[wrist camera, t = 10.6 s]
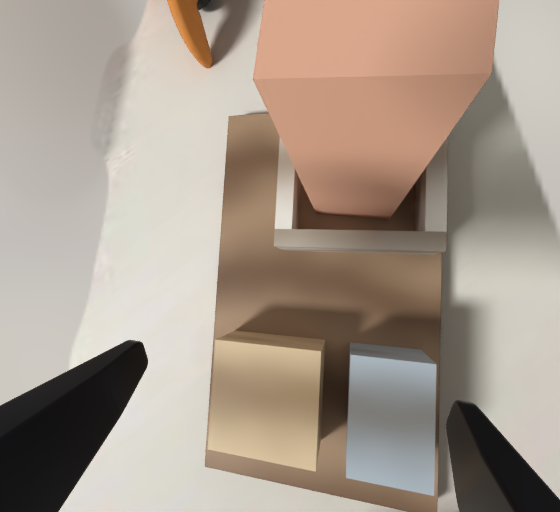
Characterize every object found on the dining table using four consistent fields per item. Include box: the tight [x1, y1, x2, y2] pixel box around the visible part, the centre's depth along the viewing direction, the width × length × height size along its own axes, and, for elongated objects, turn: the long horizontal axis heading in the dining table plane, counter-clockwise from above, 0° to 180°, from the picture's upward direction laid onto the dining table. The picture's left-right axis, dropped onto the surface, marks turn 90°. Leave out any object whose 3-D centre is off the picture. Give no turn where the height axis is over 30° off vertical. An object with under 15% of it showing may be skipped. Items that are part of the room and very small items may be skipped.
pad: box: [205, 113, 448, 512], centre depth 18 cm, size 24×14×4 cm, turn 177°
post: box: [253, 0, 499, 220], centre depth 12 cm, size 4×4×13 cm
